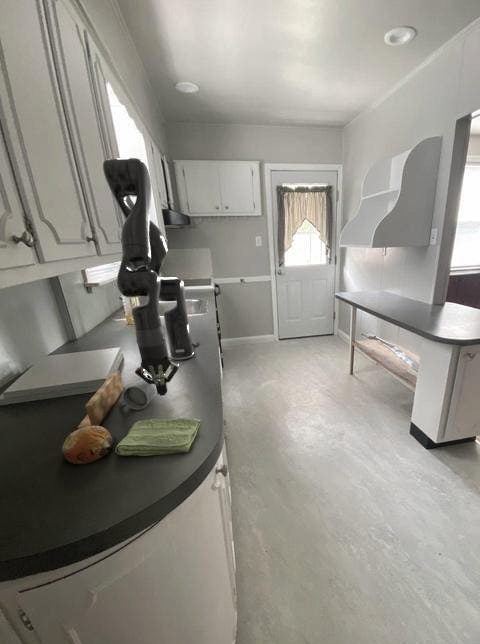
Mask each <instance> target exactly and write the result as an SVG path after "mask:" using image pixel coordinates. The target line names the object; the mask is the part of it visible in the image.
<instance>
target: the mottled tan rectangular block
mask: <svg viewBox="0 0 480 644" xmlns="http://www.w3.org/2000/svg"><path fill="white" fill-rule="evenodd" d="M124 390H125V389H124V384H123V380H122V377H121V373H120V370H118V369H117V370H113V372H112V373H111V374H110V375H109V377H107V378H106V380H105V381H104V383H103V384H102V385H101V386H100V387H99V388H98V389H97V391H96V392H95V394H93V395H92V397H91V398H90V400H88V401H87V403H86V404H85V405H84V406H85V411H86V413H87V414H86V415H85V417H84V418H83V420H82V421H81V422H80V423H79V425H78V426H77V430H78V429H80V428H83V427H87V426H100V425H101V424H102V422H103V421H104V419H105V418H106V416H107V415H108V413H109V412H110V411H111V409H112V408H113V406H114V405H115V403H116V401H117V400H118V399H119V397H120V395H121V394H122V393H123V391H124Z"/></svg>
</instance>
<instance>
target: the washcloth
mask: <svg viewBox="0 0 480 644" xmlns="http://www.w3.org/2000/svg"><path fill="white" fill-rule="evenodd" d="M201 423H202V421H201V420H200V419H198V418H190V417H188V418H187V417H182V418H181V417H180V418H167V419H156V418H153V419H141V420H138V421H136V422H134V423H133V425H132V427H131V428H130V429H129V430H128V433H127V435H126V436H125V437H123V438H122V439H121V440H120V442H118V443H117V445H116V448H115V453H116V454H117V455H119V456H140V457H146V456H147V457H149V456H157V455H158V456H160V455H170V454H178V453H180V454H181V453H188V452H190V451H189V450H190V448H191V446H192V444H193V441H195V438H196V436H197V434H198V430H199V428H200V425H201Z"/></svg>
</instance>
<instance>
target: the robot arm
mask: <svg viewBox="0 0 480 644" xmlns="http://www.w3.org/2000/svg"><path fill="white" fill-rule="evenodd" d="M102 170H103V175H104V178H105V181H106V183H107V186H108V188H109V190H110V192H111V194H112V196H113V197H114V200H115V202H116V203H117V205H118V207H119V209H120V212H121V213H122V215H123V217H124V219H125V221H124V222H123V225H122V227H121V233H120V239H121V260H120V265H119V269H118V273H117V277H116V286H117V290H118V291H119V293H120V295H122V296H123V297H125V298H129V299H130V298H131V299H133V298H146V297H147V298H148V300H147V302H146V303H144V304H139V305H136V306H134V307H132V309H131V317H132V320H133V325H134V328H135V338H136V343H137V347H138V351H139V355H140V359H141V362H140V366H139V367H137V368H136V369H135V371H134V373H135V374H136V375H137V376H138V377H140V379H143V380H145V381H146V382H147V383H148V384H155V385H156V389H157V392H156V394H157V395H159V397H162V396H166V394H167V393H168V384H167V383H170V382H171V381H172V379H173V378H174V377H175V374H177V372H178V370H179V368H180V364H179V363H175V362H173V361H172V360H174V361H184V360H188V359H192V358H193V357H194V355H195V354H194V349H193V347H197V346H199V344H200V342H199V341H197V342H196V343H194V342H192V341H193V340H192V336H191V330H190V322H189V318H188V317H189V316H188V309H187V301H186V289H185V284H184V280H183V279H182V278H181V277H163V276H162V275H161V272H162V268H163V265H164V263H165V261H166V258H167V256H168V246H167V243H166V240H165V238H164V235H163V233H162V231H161V229H160V228H159V227H158V226H157V225H156V224H155V223H154V222H153V221H152V220H151V205H152V181H151V176H150V174H149V169H148V167H147V165H146V163H145V162H144V161H143V160H142V159H141V158H136V157H124V158H122V157H121V158H107V159H105V160H103V162H102ZM135 197H136V199H135V202H134V201H133V200H132V198H135ZM142 267H145V268H146V269H139V268H142ZM160 302H164V303H168V302H176V305H174V306H173V307H172V308H168V309H167V310H165V311H163V319H164V324H165V325H164V326H165V330H166V336H167V340H166V336H165V331H164V327H163V326H162V321H161V320H162V319H161V315H160ZM167 341H168V346H167ZM168 348H169V351H168ZM169 353H170V356H169ZM169 368H170V370H171V371H170V372H169V374H168V375H167V376H166V373H167V371H168V370H169Z"/></svg>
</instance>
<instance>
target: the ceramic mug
mask: <svg viewBox="0 0 480 644" xmlns="http://www.w3.org/2000/svg"><path fill="white" fill-rule="evenodd" d="M121 394H122V395H121V399H120V400H119V401H118V403H119V404H120V406H122V407H123V406H126V407H128V408H129V409H131V410H137V411H138V410H143V409H144V408H146V407H147V406H148V405H149V403H150V402H151V401H152V399H154V398H155V396H156V394H157V389H156V385H155V384H148V383H147V382H146V381H145V380H143V379H142V378H139V379H137V380H135V381H134V382H132V383H131V384H130V385H128V386H127V387H126V388H125V389H123V391H122V393H121Z"/></svg>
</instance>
